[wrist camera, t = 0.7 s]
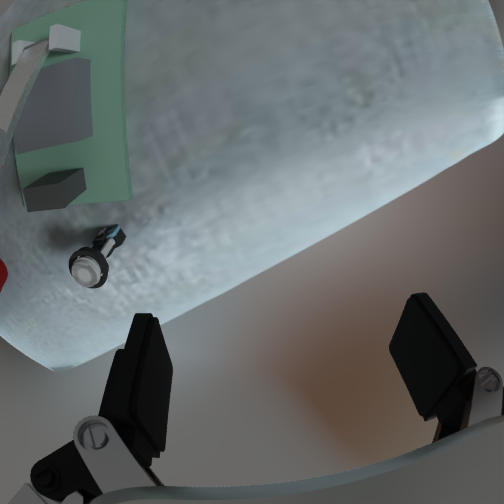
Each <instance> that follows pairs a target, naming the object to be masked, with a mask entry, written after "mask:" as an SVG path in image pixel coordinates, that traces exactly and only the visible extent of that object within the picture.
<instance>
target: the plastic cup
mask: <svg viewBox="0 0 504 504" xmlns="http://www.w3.org/2000/svg"><path fill="white" fill-rule="evenodd" d="M7 276H8V272H7V268H6V266H5V264H4V263H3V262H2V260H1V259H0V292H1V290H2V287H3V285H4V283H5V281H6V280H7Z"/></svg>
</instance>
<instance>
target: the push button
mask: <svg viewBox="0 0 504 504" xmlns="http://www.w3.org/2000/svg"><path fill="white" fill-rule="evenodd" d="M106 228H107V227H105V228H104V229H102V230H101V231H100V232H99V234H98V235H99V236H97V237H96V238H95V240H94V241H93V242H92V244H91V245H90V246H89V247H83V248H80V249H79V250H78V251H76V252H74V253H73V254H72V256H71V257H70V259H69V270H70V273H71V275H72V276H73V278H74V279H75V281H76V282H77V283H79V284H80V285H82V286H84V287H87V288H99V287H101V286H102V285H103V284H104V283H105V281H106V280H107V276H108V270H109V265H108V263H107V261H106V259H105V258H107V257H109V256H110V255H111V253H112V252H113V250H114V249H115V248H117V247H119V246H120V245H122V243H123V241H124V240H125V238H126V236H125V234H124V233H123V231H122V230H121V228H120V226H119V225H117V226H115V227H114V228H112V229H110V230H109V231H107V232H105V233H104V231H105V229H106ZM78 256H80V257H79V258H78V259H77V257H78ZM102 273H103V275H102V276H101V274H102Z"/></svg>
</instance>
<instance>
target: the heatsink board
mask: <svg viewBox="0 0 504 504" xmlns="http://www.w3.org/2000/svg"><path fill="white" fill-rule="evenodd" d="M126 8H127V0H87V1H84V2H81V3H78V4H75V5H72V6H69V7H66V8H64V9H61V10H58V11H56V12H53V13H51V14H48V15H46V16H43V17H41V18H39V19H36V20H34V21H32V22H30V23H27V24H25V25H23V26H21V27H19V28H17V29H15V30H13V31H12V38H11V51H10V75H11V73H12V71H13V69H14V67H15V66H16V64H17V62H18V60H19V59H20V57H21V55H22V53H23V50H24V48H25V47H26V46H29V45H31V44H33V43H36V42H38V41H41V40H43V39H46V38H48V37H49V50H50V52H49V54H48V56H47V58H46V60H45V61H44V63H43V65H42V67H41V69H40V71H39V73H38V75H37V77H36V80H35V82H34V84H33V86H32V88H31V90H30V93H29V95H28V97H27V100H26V102H25V104H24V107H23V109H22V112H21V115H20V117H19V120H18V123H17V125H16V128H15V131H14V134H13V144H14V151H15V158H16V165H17V171H18V176H19V182H20V187H21V192H22V196H23V201H24V205H25V209H26V210H27V211H28V212H33V211H42V210H51V209H61V208H65V207H66V206H67V205H77V204H88V203H100V202H113V201H127V200H130V199H131V197H132V190H131V181H130V172H129V162H128V151H127V139H126V123H125V101H124V43H125V22H126Z"/></svg>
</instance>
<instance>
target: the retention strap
mask: <svg viewBox="0 0 504 504" xmlns="http://www.w3.org/2000/svg"><path fill="white" fill-rule="evenodd" d="M49 52H50V50H49V37H48V38H46V39H43V40H41V41H38V42H36V43H33V44H31V45H29V46H26V47H25V48H24V50H23V53H22V55H21V57H20V59H19V60H18V62H17V64H16V66H15V67H14V69H13V71H12V73H11V75H10V77H9V79H8V81H7V83H6V85H5V87H4V89H3V91H2V93H1V95H0V167H2V166H4V163H5V160H6V156H7V153H8V150H9V146H10V143H11V140H12V137H13V134H14V131H15V128H16V125H17V123H18V120H19V117H20V115H21V112H22V109H23V107H24V104H25V102H26V100H27V97H28V95H29V93H30V90H31V88H32V86H33V84H34V82H35V80H36V77H37V75H38V73H39V71H40V69H41V67H42V65H43V63H44V61H45V60H46V58H47V56H48V54H49Z"/></svg>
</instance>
